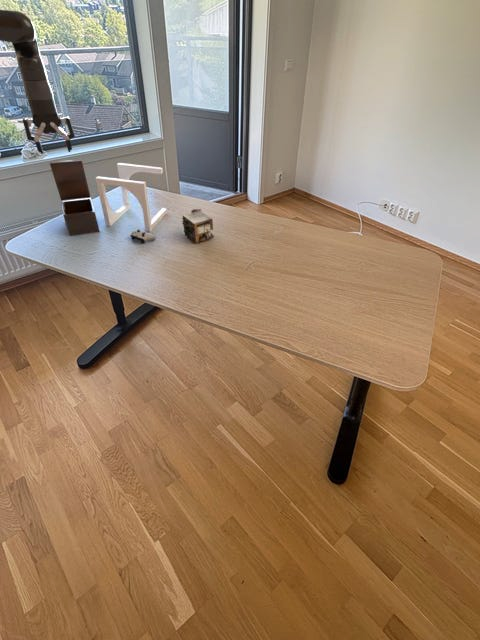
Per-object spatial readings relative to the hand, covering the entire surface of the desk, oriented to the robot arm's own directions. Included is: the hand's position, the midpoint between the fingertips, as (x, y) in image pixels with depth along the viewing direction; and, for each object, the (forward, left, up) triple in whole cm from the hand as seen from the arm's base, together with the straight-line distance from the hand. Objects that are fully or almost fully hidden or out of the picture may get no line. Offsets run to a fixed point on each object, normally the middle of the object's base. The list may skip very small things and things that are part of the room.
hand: (56, 152), depth 118 cm
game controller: (+23, -9, -32) cm, 41 cm away
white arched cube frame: (+25, +10, -32) cm, 42 cm away
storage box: (+2, +10, -32) cm, 34 cm away
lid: (+2, +16, -15) cm, 22 cm away
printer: (+45, -17, -32) cm, 58 cm away
